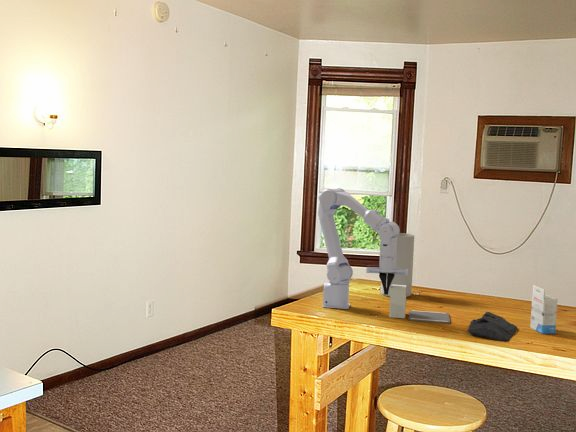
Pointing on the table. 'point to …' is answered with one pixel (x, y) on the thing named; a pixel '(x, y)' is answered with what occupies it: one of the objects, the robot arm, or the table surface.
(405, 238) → the cylinder vase
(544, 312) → the ink box
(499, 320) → the crumpled dark cloth
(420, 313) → the mat
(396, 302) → the small box
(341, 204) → the robot arm
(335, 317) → the table surface
